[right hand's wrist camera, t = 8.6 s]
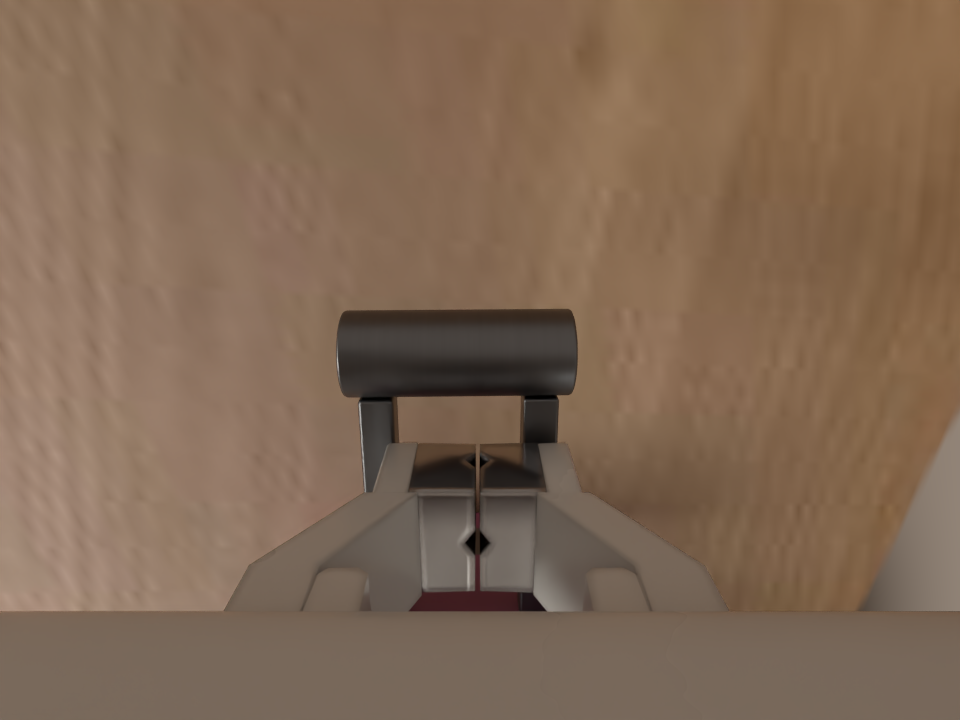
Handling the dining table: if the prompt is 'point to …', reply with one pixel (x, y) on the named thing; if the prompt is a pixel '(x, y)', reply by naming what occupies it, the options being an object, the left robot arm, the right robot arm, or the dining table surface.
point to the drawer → (456, 388)
